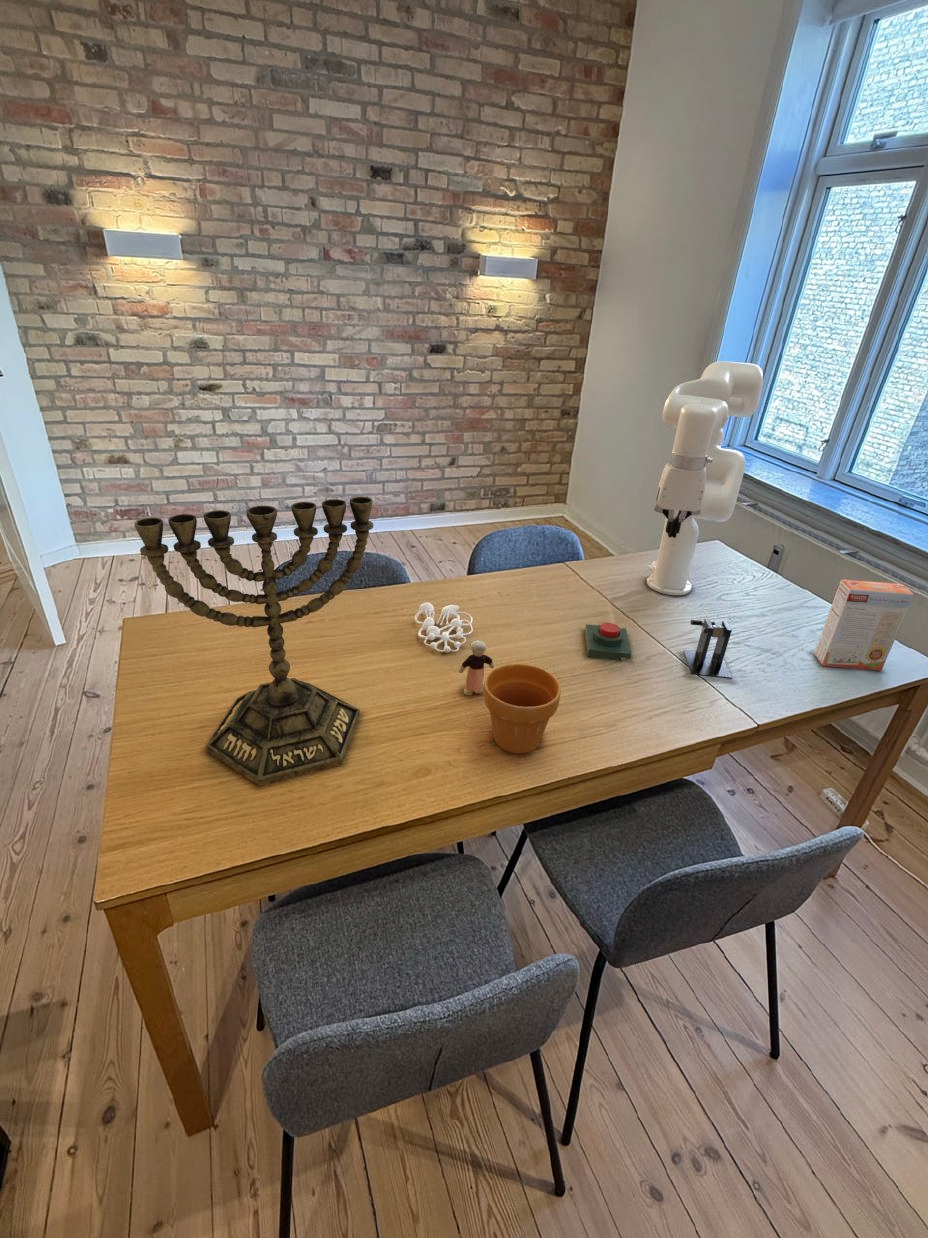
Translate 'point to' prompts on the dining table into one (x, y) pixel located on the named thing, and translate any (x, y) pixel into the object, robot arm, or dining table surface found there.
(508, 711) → the flower pot
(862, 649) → the cracker box
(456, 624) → the tangled rod sculpture
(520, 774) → the dining table surface
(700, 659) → the switch bracket
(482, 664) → the grandmother figurine
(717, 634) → the switch lever
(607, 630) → the red button
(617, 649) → the button box
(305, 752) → the menorah
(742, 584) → the dining table surface
